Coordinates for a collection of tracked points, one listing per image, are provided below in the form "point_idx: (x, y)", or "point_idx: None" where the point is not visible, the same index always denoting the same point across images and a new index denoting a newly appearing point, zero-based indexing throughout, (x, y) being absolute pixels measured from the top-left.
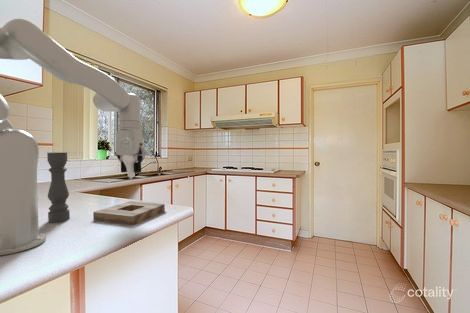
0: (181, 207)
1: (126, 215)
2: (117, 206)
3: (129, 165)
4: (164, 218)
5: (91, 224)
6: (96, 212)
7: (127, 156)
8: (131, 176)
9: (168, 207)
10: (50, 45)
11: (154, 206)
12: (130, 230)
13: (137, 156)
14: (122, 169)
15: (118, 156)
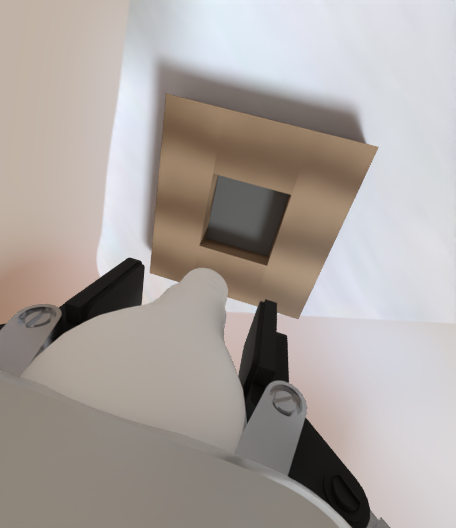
0: None
1: (197, 105)
2: (310, 240)
3: (155, 302)
4: (120, 186)
5: (344, 87)
6: (359, 142)
7: (76, 357)
8: (192, 270)
9: None
10: None
11: (166, 242)
12: (153, 37)
13: None
14: (260, 312)
15: (339, 496)
